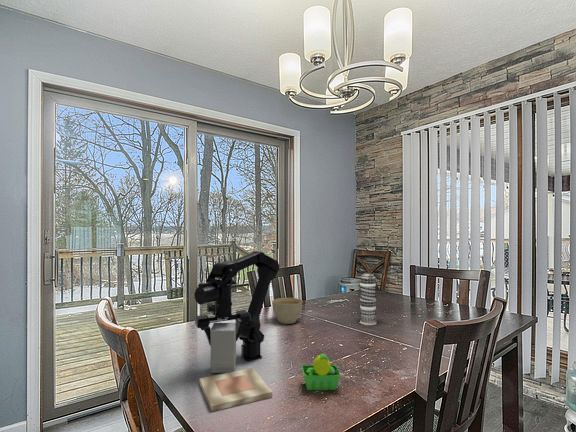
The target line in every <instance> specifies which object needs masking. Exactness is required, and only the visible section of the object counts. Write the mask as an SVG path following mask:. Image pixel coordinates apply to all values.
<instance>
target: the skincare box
mask: <svg viewBox="0 0 576 432" xmlns="http://www.w3.org/2000/svg"><path fill="white" fill-rule="evenodd" d="M210 330H211V331H210V336H211V346H210V373H211V374H225V373H230V372H235V369H236V363H237V341H236V322H214V323H212V326H211V327H210Z"/></svg>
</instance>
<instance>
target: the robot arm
mask: <svg viewBox="0 0 576 432" xmlns="http://www.w3.org/2000/svg"><path fill="white" fill-rule="evenodd" d="M251 266H255V267H257V270H256V271H257V278H258V279H257V281H256V285H255V288H254V290H253V294H252V297H251V299H250V303H249V306H248V310H246V309H241V310H240V309H239V310H236V311H235V313H232V306H233V302H232V285H233V286H234V285H236V284H237V283H236V281H235V280H234V279H233V278H234V277H236V276H237V275H238V273H239V272H240V271H243V270H245V269H247V268H249V267H251ZM279 270H280V264H279V262H278V260H277V259H274V258H273V257H271V256H269V255H267V254H266V253H264V252H263V251H258V250H257V251H256V250H253V251H252V252H250V253H247V254H245V255H242V256H241V257H238V258H235V259H233V260H228V261H227V260H226V261H218V262H215V263H214V264H213V266H212V268H211V271H210V273H209V274H208V276H207V278H206V280H205V282H200V283H198V286H197V288H196V289H195V292H194V300H195V302H196V303H197V305H204V304H206V313H212V315H213V316H211V317H209V316H208V314H202V315H196V317H195V318H194V325H195V326H196V328H197V329H200V330H201V331H204V334H205V336H206V340H207V343H208V344H209V346H210V347H211V336H210V331H211V327H210V324H214V323H222V322H226V321H233V320H234V321H235V323H236V342H238V341H239V340H240V341H242V344H241V345H240V349H241V352H240V355H241V357H242V358H243V359H244V360H245V361H247V362H248V361H252V360H253V361H254V360H258V359H262V358H263V356H262V355H261V344H262V342H264V340H265V334H264V333H263V332H262V331H261V320H260V315H261V312H262V309H263V305H264V303H265V299H266V296H267V293H268V290H269V287H270V284H271V282H272V281H273V280H274V279H276V277H277V274H278V273H279ZM213 302H214V303H213ZM238 339H239V340H238Z"/></svg>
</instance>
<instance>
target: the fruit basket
mask: <svg viewBox="0 0 576 432" xmlns="http://www.w3.org/2000/svg"><path fill="white" fill-rule="evenodd" d="M301 370H302V375H303V378H304V382H305V387H306V391H328V390H329V391H335V390H337V387H338V383H339V380H340V377H341V373H340V371H339V369H338V366H337V365H336V364H331V362H330V360H329V358H328V356H327V355H326V354H325V353H320V354H319V355H317V356H316V358H314V360H313V361H312V365H311V364H306V365H305V364H304V365H302V366H301Z"/></svg>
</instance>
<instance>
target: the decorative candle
mask: <svg viewBox="0 0 576 432" xmlns="http://www.w3.org/2000/svg"><path fill="white" fill-rule="evenodd" d="M359 278H360V282H359V284H358V287H359V288H358V290H359V291H358V293H359V294H360V295H359V296H358V297H359V301H360V305H359V307H360V308H359V314H360V315H359V324H362V325H365V326H374V325H377V324H378V323H377V319H378V318H377V306H376V301H377V297H378V296H377V295H378V293H377V292H376V291H378V289H377V287H378V286H377V283H376V276H375V275H374V274H372V273H362V274H361V276H359Z"/></svg>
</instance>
